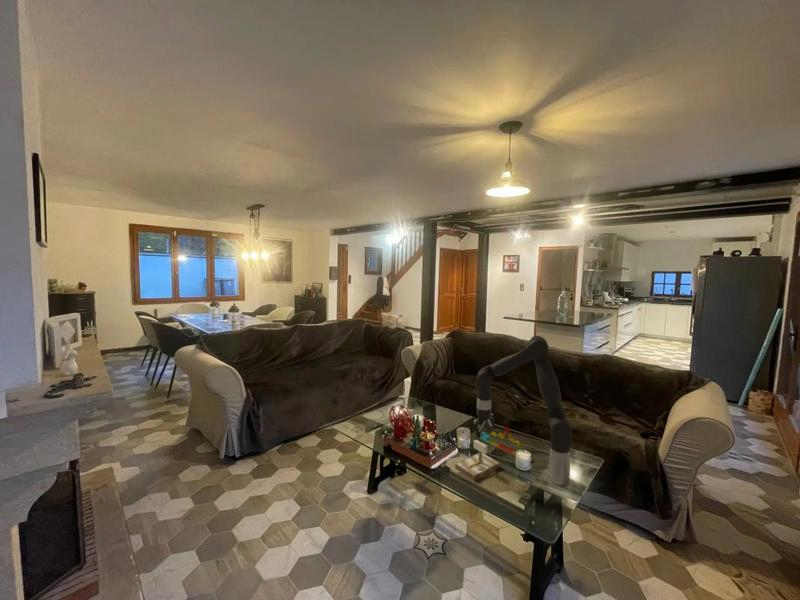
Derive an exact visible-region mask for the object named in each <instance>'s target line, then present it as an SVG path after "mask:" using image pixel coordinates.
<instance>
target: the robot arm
mask: <svg viewBox="0 0 800 600" xmlns="http://www.w3.org/2000/svg"><path fill="white" fill-rule="evenodd" d="M531 361H534V366H535V372H536V379H537V383H538V387H539V388H538V389H539V392H540V394H541V398H542V400H543V401H544V404H545V406H546V410H547V414H548V422H549V427H550V431H551V432H550V435H551V436H550V441H549V469H548V471H549V472H548V473H549V474H548V480H549V481H550V482H551V483H552V484H554V485H556V486H561V487H564V486H567V485H570V480H571V479H570V478H571V477H570V476H571V462H570V457H571V447H572V439H573V435H572V434H573V432H572V430H573V429H572V426H571V424H570V421H569V420H568V418H567V415H566V413H565V410H564V408H563V405H562V393H561V392H562V391H561V388H560V383H559V381H558V377H557V375H556V373H555V370H554V367H553V366H552V362H551V360H550V354H549V344H548V341H547V340H546V339H545V338H544V337H542V336H540V335H534V336H532V337H531V338H530V339H529V341H528V343H527V346H526V347H524V348H523V349H521V350H520V351H518V352H515V353H513V354H510V355H507V356H504V357H503V358H500V359H499V360H498V361H495V362H494V363H492V364H489V365H487V366H484V367H482V368H481V369H480V370H479V371H478V372H477V375H476V388H477V392H476V393H477V396H476V416H477V419H472V431H474V432H475V437H476V438H477V439H481V430H482V429H483V427H485V426H487V427H486V429H487V430H486V433H488V435H490V434H491V433H492V432H493V431H492V428H493V426H494V425H495V414H494V413H492V392H491V391H492V390H491V380H492V379H493V378H495V377H500V376H503V375H505V374H506V373H508V372H511V371H512V370H514V369H515V368H517V367H519V366H521V365H523V364H526V363H529V362H531Z"/></svg>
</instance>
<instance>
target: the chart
mask: <svg viewBox="0 0 800 600" xmlns="http://www.w3.org/2000/svg"><path fill="white" fill-rule="evenodd" d="M509 428H510V427H509V426H506V427H504V430H503V433H502V432H499V433H496V432H495V431H491V434H487V432H485V431H482V432H480V435H482V436H480V441H481V442H484V443H487V444H488V445H490V446H493V447H495V448H497V449H499V450H501V451H504V452H505V453H508V454H510V455H511V456H512V457H513V456H514V457H515V452H516V451H517V450H515V449H513V448H511V447H509V446H506V445H504V444H502V443H500V442H498V441H497V440H496V441H495V440H494V439H492V438H490V437H493V438H496V437H499V438H500V439H501V440H503V439H505V437H506V435H507V437H508V439H509V440H510V441H511V443H514V444H516V445H517V448H518V450H519V451H520V450H522V451H524V448H523V447H522V445H521V442H520V441H519V440H516V439H515V438H514V437H512V434H511V431H510V429H509Z"/></svg>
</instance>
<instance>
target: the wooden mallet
mask: <svg viewBox="0 0 800 600" xmlns="http://www.w3.org/2000/svg"><path fill="white" fill-rule="evenodd" d="M473 448H474V450H477V451H478V453H479V460H478V462H475V463H473V464H471V465H469V466H468V467H471V466H473V465H475V464H477V463H482V462H483V460H482V453H484V454H486V455H487V454H488V445H486V444H485V443H483V442H482V441H479V440H477V439H474V440H473Z"/></svg>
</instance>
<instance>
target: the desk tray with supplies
mask: <svg viewBox="0 0 800 600" xmlns="http://www.w3.org/2000/svg"><path fill="white" fill-rule="evenodd" d="M478 460H479V452H477V453H475V454H473V455H471V456H469V457H467V458H465V459H463V460H460V461H458V462H456V463H455V466H454V467H455V469H456V470H457V471H459V472H460V473H462V474H463V475H465V476H466V477H468V478H469V479H470V480H472V481H473V482H476V481H477V480H479V479H481V478H483V477H485V476H487V475H490V473H492V472H494V471H496V470H498V469H500V468H501V463H500V461H497V460H496V459H494V458H492V457H491V456H489V455H487V453H486V454H484V453H482V460H483V462H482V463H477V464H475V465H473V466H471V467H468V466H469V465H471V464H473V463H475V462H478Z"/></svg>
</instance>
